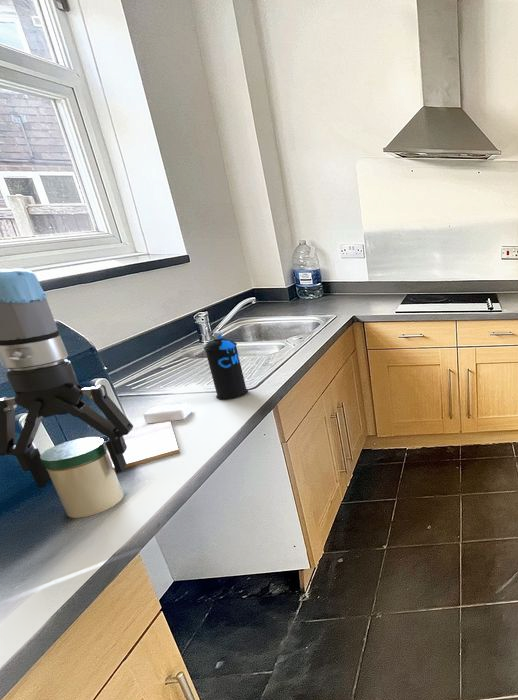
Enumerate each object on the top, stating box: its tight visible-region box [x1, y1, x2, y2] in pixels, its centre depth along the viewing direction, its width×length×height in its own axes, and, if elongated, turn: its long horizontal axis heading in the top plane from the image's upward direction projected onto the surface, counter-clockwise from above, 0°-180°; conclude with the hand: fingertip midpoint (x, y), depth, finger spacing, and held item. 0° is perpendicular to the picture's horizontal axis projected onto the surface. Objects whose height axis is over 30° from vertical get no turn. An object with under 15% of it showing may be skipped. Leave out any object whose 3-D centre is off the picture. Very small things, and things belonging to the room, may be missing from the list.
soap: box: [143, 402, 192, 425], centre depth 113 cm, size 9×6×3 cm, turn 107°
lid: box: [40, 436, 107, 470], centre depth 76 cm, size 8×8×2 cm
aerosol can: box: [203, 330, 249, 401], centre depth 125 cm, size 8×8×20 cm
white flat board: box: [105, 420, 181, 472], centre depth 99 cm, size 20×14×1 cm
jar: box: [46, 451, 125, 519], centre depth 77 cm, size 8×8×12 cm
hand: (84, 475), depth 77 cm, fingers open, 10 cm apart
